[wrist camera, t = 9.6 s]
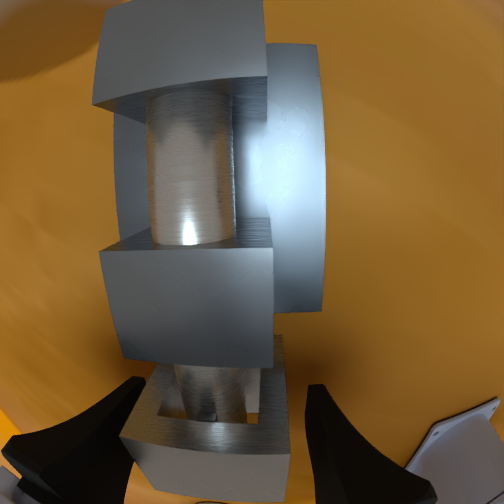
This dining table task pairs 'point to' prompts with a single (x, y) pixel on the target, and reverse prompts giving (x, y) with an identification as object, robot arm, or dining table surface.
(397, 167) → the dining table surface
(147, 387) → the collar
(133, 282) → the shaft stand
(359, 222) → the dining table surface
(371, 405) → the dining table surface
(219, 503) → the supplement bottle
